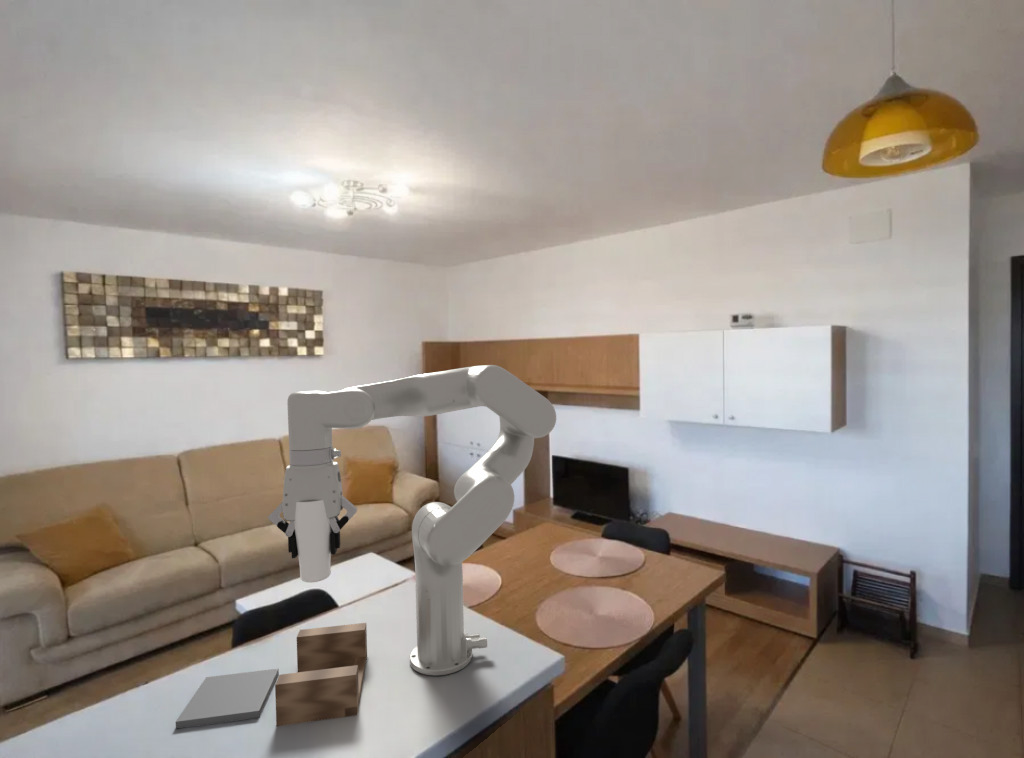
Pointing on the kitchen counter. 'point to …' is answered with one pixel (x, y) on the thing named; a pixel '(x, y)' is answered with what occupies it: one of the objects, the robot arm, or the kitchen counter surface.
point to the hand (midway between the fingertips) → (315, 553)
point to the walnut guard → (323, 675)
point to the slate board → (229, 698)
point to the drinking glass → (313, 541)
